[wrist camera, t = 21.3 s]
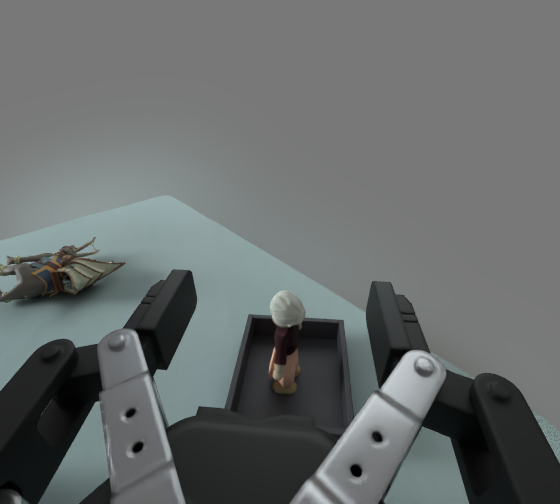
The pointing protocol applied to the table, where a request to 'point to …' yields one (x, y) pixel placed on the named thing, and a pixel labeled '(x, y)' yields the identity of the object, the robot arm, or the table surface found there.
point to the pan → (310, 382)
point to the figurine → (54, 273)
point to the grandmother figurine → (286, 341)
